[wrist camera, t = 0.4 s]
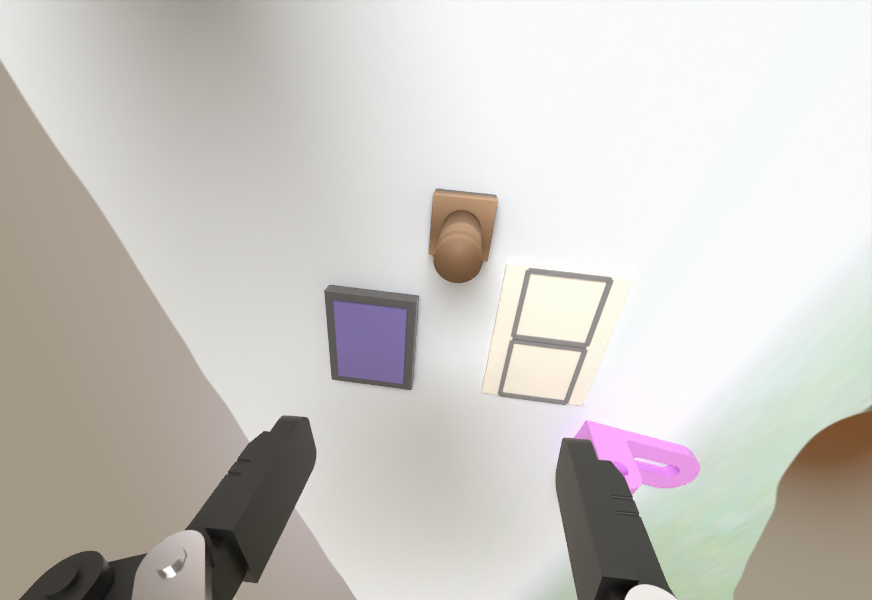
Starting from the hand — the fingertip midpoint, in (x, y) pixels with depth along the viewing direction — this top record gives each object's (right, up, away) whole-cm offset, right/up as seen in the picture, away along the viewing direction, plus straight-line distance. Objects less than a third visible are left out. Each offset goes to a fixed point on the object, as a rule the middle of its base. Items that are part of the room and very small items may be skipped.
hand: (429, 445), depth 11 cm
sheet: (+10, +1, +21) cm, 23 cm away
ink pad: (-6, +1, +22) cm, 23 cm away
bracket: (+21, -12, +27) cm, 36 cm away
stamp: (+2, +11, +16) cm, 20 cm away
